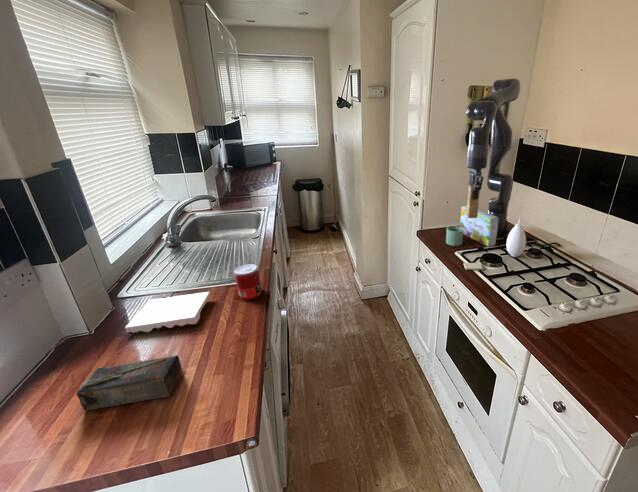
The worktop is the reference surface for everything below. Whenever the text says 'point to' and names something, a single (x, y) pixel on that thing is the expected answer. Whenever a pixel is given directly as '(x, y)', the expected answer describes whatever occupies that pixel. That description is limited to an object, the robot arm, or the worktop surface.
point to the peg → (472, 204)
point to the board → (473, 266)
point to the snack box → (480, 227)
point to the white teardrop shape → (516, 240)
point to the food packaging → (169, 312)
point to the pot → (454, 235)
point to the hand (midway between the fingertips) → (473, 197)
